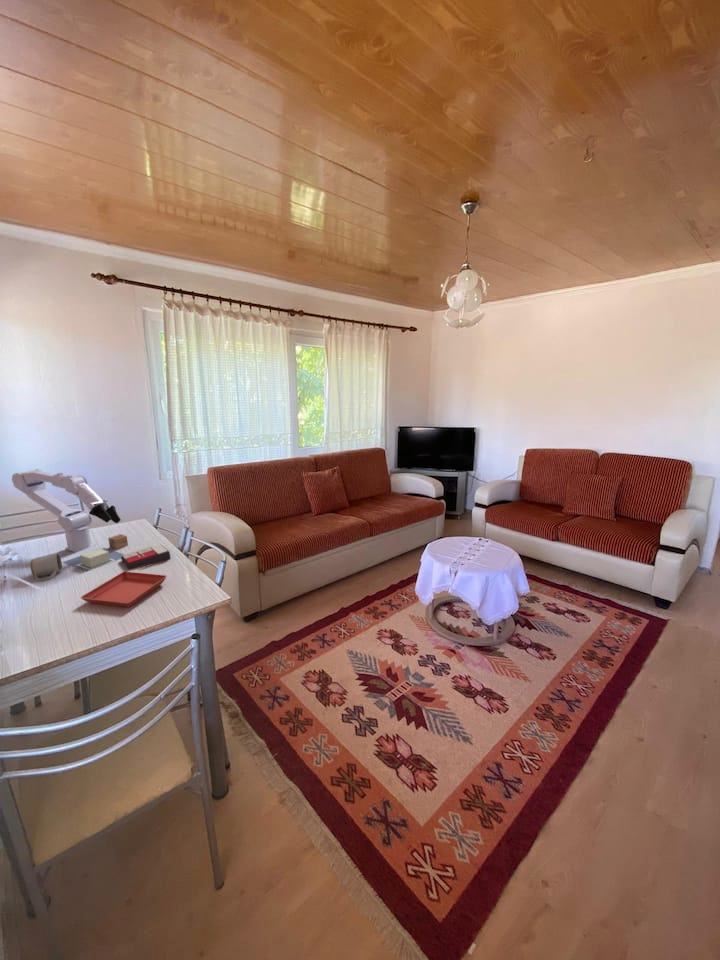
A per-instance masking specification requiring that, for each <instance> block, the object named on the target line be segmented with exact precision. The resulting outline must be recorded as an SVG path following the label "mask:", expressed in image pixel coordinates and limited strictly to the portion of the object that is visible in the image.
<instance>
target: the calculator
mask: <svg viewBox="0 0 720 960" xmlns="http://www.w3.org/2000/svg"><path fill="white" fill-rule="evenodd" d="M123 554H124V555H122V556H121V559H120V560H121V562H122V563H123V564H124V565H125V567H126V568H127V569H128V570H132V569H136V568H138V567H139V568H140V567H143V566H145V567H147V565H148V566H151V565H154V564H158V563H162V562H165V561H168V560H171V553H170V550H168V549H167V548H166V547H165V546H163V545H162V544H160V543H159V544H155V545H152V546H147V547H144V548H141V549H137V551H136V550H135V551H132V552H127V553H123ZM150 564H151V565H150Z"/></svg>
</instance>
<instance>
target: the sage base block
mask: <svg viewBox="0 0 720 960" xmlns="http://www.w3.org/2000/svg"><path fill="white" fill-rule="evenodd" d="M79 556H80V558H81V563H82V565H85V566H87V567H90V568H93V567H96V566H98V565H101V564H104V563H106V562H109V561H110V556H109V552H108V551H105V550H102V548H96V549H94V550H90V551H88V552H84V553H81V554H79Z"/></svg>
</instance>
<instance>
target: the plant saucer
mask: <svg viewBox="0 0 720 960" xmlns="http://www.w3.org/2000/svg"><path fill="white" fill-rule="evenodd" d="M166 578H167V575H164V574H155V573H154V574H153V573H145V572H144V573H143V572H133V571H122V572H120V573H119V574H117V575H115V576H113V577H112V578H111V579H109V580H106V581H105V582H104V583H102V584H101V585H99V586H97V587H95V588H93V589H91V590H89V591H88V592H86V593H84V594H83V595H82V596H81V597H80V598H81V600H83V601H85V602H87V603H90V604H93V603H94V605H102V604H103V605H104V606H112V607H121V608H131V607H132V606H133V605H135V604H137V602H139V601H140V600H141V599H143V598H145V597H146V596H148V595H149V594H150V593H152V592H153V591H155V590H156V589H158V587H160V586H161V585H162V584H163V583H164V581H165V579H166ZM144 596H145V597H144Z"/></svg>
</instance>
